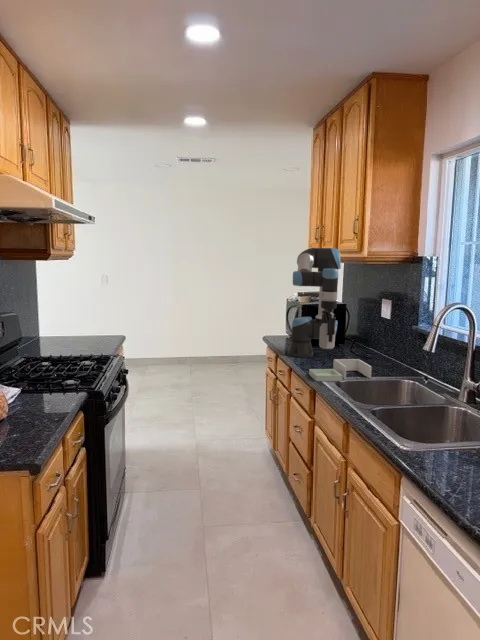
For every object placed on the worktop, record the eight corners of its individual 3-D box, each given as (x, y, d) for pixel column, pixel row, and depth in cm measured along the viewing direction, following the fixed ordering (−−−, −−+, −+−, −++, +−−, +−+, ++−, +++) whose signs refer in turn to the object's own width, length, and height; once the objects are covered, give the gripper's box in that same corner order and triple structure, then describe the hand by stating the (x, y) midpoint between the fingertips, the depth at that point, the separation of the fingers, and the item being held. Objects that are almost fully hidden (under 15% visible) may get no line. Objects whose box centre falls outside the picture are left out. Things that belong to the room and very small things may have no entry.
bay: (333, 370, 252) (333, 359, 251) (358, 370, 254) (359, 359, 253) (344, 378, 235) (344, 366, 234) (370, 378, 237) (371, 366, 236)
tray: (308, 374, 241) (309, 369, 241) (333, 374, 243) (333, 369, 243) (316, 381, 229) (316, 375, 228) (342, 381, 230) (342, 375, 230)
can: (334, 349, 229) (335, 325, 228) (318, 348, 231) (319, 324, 229) (334, 346, 237) (335, 323, 235) (319, 346, 238) (320, 322, 237)
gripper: (315, 298, 240) (313, 342, 243) (328, 302, 220) (325, 350, 223) (329, 298, 241) (327, 342, 244) (343, 302, 221) (341, 350, 224)
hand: (326, 346), depth 234 cm, fingers closed on can, 7 cm apart
